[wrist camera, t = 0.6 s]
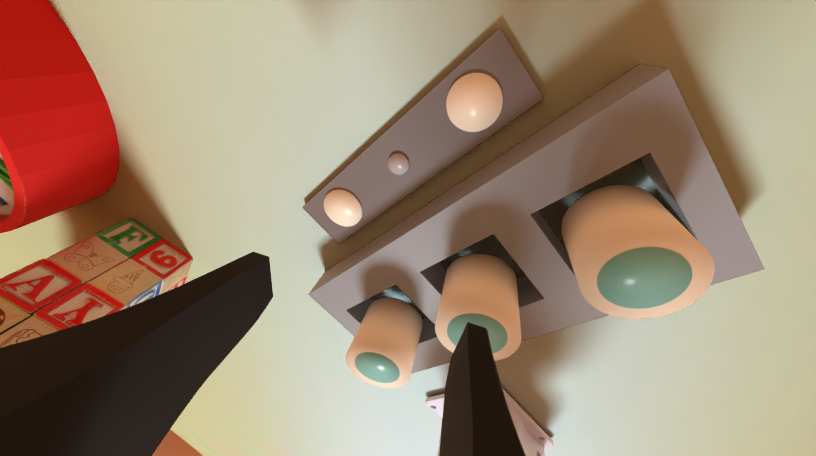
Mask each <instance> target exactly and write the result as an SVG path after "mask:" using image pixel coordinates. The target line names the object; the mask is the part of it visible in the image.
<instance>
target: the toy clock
mask: <svg viewBox="0 0 816 456" xmlns="http://www.w3.org/2000/svg"><path fill="white" fill-rule="evenodd" d="M118 168H119V145H118V140H117V134H116V129H115V125H114V122H113V119H112V116H111V112H110V109H109V106H108V103H107V100H106V98H105V96H104V94H103V92H102V89H101V87H100V85H99V83H98V81H97V78H96V76H95V74H94V72H93V70H92V68H91V67H90V65H89V63H88V61H87V60H86V58H85V56H84V54H83V53H82V51H81V49H80V47H79V45H78V44H77V42H76V40H75V39H74V37H73V36H72V34H71V33H70V31H69V30H68V28H67V27H66V25H65V24H64V23H63V21H62V20H61V18H60V17H59V15H58V14H57V12H56V11H55V9H54V8H53V6H52V5H51V4H50V3H49V1H48V0H0V233H3V232H7V231H12V230H14V229H17V228H19V227H22V226H25V225H27V224H30V223H32V222H35V221H37V220H40V219H43V218H45V217H48V216H50V215H53V214H55V213H58V212H60V211H63V210H66V209H68V208H71V207H73V206H76V205H78V204H81V203H84V202H86V201H89V200H91V199H94V198H96V197H99V196H101V195H102V194H104V193H105V192H106V191H108V190H109V189H110V187H111V186H112V184H113V183H114V181H115V180H116V176H117V172H118Z"/></svg>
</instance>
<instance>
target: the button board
mask: <svg viewBox="0 0 816 456" xmlns="http://www.w3.org/2000/svg"><path fill="white" fill-rule="evenodd" d="M638 158H640V159H641V161H642V163H643V165H644V166H645V168H646V170H647V172H648V174H649V175H650V177H651V179H652V181H653V182H654V184H655V186H656V188H657V190H658V191H659V193H660V195H661V197H662V199H663V200H664V202H665V204H666V206H667V208H668V209H669V211H670V213H671V214H672V215H673V216H674V217H675V218H676V219H677V220H678V221H679V222H680V223H681V224H682V225H683V226H684V227H685V228H686V229H687V230H688V231H689V232H690V233H691V234H692V235H693V236H694V237H695V238H696V239H697V240H698V241H699V242H700V243H701V244H702V245H703V246H704V247H705V248H706V249H707V250H708V252H709V253H710V255H711V256H712V259H713V261H714V267H715V270H714V276H713V280H712V282H711V284H710V285H713V284H716V283H720V282H723V281H726V280H730V279H733V278H737V277H740V276H743V275H747V274H750V273H753V272H757V271H760V270H764V267H763V265H762V263H761V260H760V258H759V256H758V254H757V252H756V250H755V248H754V246H753V244H752V242H751V240H750V237H749V235H748V233H747V231H746V229H745V227H744V225H743V223H742V221H741V219H740V217H739V214H738V212H737V210H736V208H735V206H734V204H733V202H732V200H731V198H730V196H729V194H728V191H727V189H726V187H725V185H724V183H723V181H722V179H721V177H720V175H719V173H718V170H717V168H716V166H715V164H714V162H713V160H712V158H711V156H710V154H709V152H708V150H707V147H706V145H705V143H704V141H703V139H702V137H701V135H700V133H699V131H698V129H697V127H696V124H695V122H694V120H693V118H692V116H691V114H690V112H689V110H688V108H687V106H686V104H685V101H684V99H683V97H682V95H681V93H680V91H679V89H678V87H677V85H676V83H675V81H674V78H673V76H672V74H671V72H670V70H669V69H667V68H661V67H655V66H649V65H644V64H639V65H638V66H636V67H635V68H633V69H632V70H630V71H629V72H627V73H626V74H624V75H623V76H621V77H620V78H618V79H616V80H615V81H613V82H612V83H610V84H609V85H607V86H606V87H604V88H603V89H601V90H600V91H598V92H597V93H595V94H594V95H592V96H591V97H589V98H588V99H586V100H585V101H583V102H582V103H580V104H579V105H577V106H576V107H574V108H573V109H571V110H570V111H568V112H567V113H565V114H563V115H562V116H560V117H559V118H557V119H556V120H554V121H553V122H551V123H550V124H548V125H547V126H545V127H544V128H542V129H541V130H539V131H538V132H536V133H535V134H533V135H532V136H530V137H529V138H527V139H526V140H524V141H523V142H521V143H520V144H518V145H517V146H515V147H514V148H512V149H510V150H509V151H507V152H506V153H504V154H503V155H501V156H500V157H498V158H497V159H495V160H494V161H492V162H491V163H489V164H488V165H486V166H485V167H483V168H482V169H480V170H479V171H477V172H476V173H474V174H473V175H471V176H470V177H468V178H467V179H465V180H464V181H462V182H461V183H459V184H457V185H456V186H454V187H453V188H451V189H450V190H448V191H447V192H445V193H444V194H442V195H441V196H439V197H438V198H436V199H435V200H433V201H432V202H430V203H429V204H427V205H426V206H424V207H423V208H421V209H420V210H418V211H417V212H415V213H414V214H412V215H411V216H409V217H408V218H406V219H404V220H403V221H401V222H400V223H398V224H397V225H395V226H394V227H392V228H391V229H389V230H388V231H386V232H385V233H383V234H382V235H380V236H379V237H377V238H376V239H374V240H373V241H371V242H370V243H368V244H367V245H365V246H364V247H362V248H361V249H359V250H358V251H356V252H355V253H353V254H351V255H350V256H348V257H347V258H345V259H344V260H342V261H341V262H339V263H338V264H336V265H335V266H333V267H332V268H330V269H329V270H327V271H326V272H325V273H324V274H323V275H322V277H321V278H320V279H319V281H318V282H317V283H316V285H315V286H314V288H313V289H312V290H311V292H310V293H309V295H310V296H311V297H312V298H313V299H314V300H315V301H316V302H317V303H318V304H320V305H321V306H322V307H323V308H324V309H325V310H326V311H327V312H328V313H329V314H331V315H332V316H333V317H334V318H335V319H336V320H337V321H338V322H339V323H340V324H342V325H343V326H344V327H345V328H346V329H347V330H348V331H349V332H350V333H351V334H353V335H354V336H355V335H356V333H357V331H358V329H359V327H360V324H361V322H362V320H363V318H364V316H365V314H366V312H367V310H368V308H369V306H370V304H371V303H372V302H373V301H374V300H372V299H371V297H373V296H374V295H376V294H378V293H380V292H382V291H384V290H386V289H388V288H390V287H392V286H394V285H397V286H398V287H399V288H400V289H401V290H402V291H403V293H404V294H405V295H406V296H407V297H408V298H409V299H410V300H411V301H412V302H413V303H414V304H415V305H416V306H417V307H418V308H419V309H420V310H421V311H422V312H423V313H424V314H425V315H426V316H427V317H424V318H422V320H423V327H422V331H421V335H420V339H419V343H418V347H417V351H416V355H415V358H414V362H413V366H412V370H411V373H415V372H418V371H421V370H425V369H428V368H432V367H435V366H438V365H442V364H445V363H448V362H450V360H451V357H452V354H453V353H452V352H451V351H449V350H448V349H447V348H446V347H444V346H443V345H442V343H441V342H440V341H439V339H438V337H437V335H436V332H435V323H436V318H437V314H438V309H439V304H440V300H441V295H442V290H443V286H444V281H445V276H446V272H447V269H446V268H445V267H444V266H443V265H442V264H441V262H440V261H442V260H444V259H446V258H448V257H450V256H452V255H453V254H455V253H457V252H459V251H461V250H463V249H465V248H467V247H469V246H471V245H473V244H475V243H477V242H479V241H480V240H482V239H484V238H486V237H488V236H490V235H492V234H494V235H495V237H496V238H497V239H498V240H499V242H500V243H501V244H502V246H503V247H504V248H505V249H506V251H507V252H508V253H509V254H510V256H511V257H512V258H513V259H514V261H515V262H516V263H517V264H518V266H519V267H520V268H521V270H522V271H523V272H524V273H525V275H526V276H524V277H521V278H519V279H517V291H518V303H519V315H520V327H521V341H523V340H526V339H530V338H533V337H537V336H540V335H543V334H547V333H550V332H554V331H557V330H560V329H564V328H567V327H570V326H574V325H577V324H581V323H584V322H587V321H591V320H594V319H598V318H601V317H604V316H608V315H609V314H606V313H603V312H601V311H599V310H597V309H596V308H594V307H593V306H592V305H590V304H589V303H588V302H587V301H586V300H585V298H584V297H583V295H582V294H581V291H580V288H579V285H578V282H577V279H576V276H575V273H574V270H573V267H572V264H571V261H570V258H569V255H568V252H567V249H566V248H565V247H564V245H563V244H562V242H561V241H560V240H559V238H558V237H557V235H556V234H555V233H554V231H553V230H552V228H551V227H550V226H549V224H548V223H547V221H546V220H545V219H544V217H543V216H542V214H541V213H540V212H539V210H540V209H542V208H544V207H546V206H548V205H550V204H552V203H554V202H556V201H558V200H559V199H561V198H563V197H565V196H567V195H569V194H571V193H573V192H575V191H577V190H579V189H581V188H583V187H585V186H586V185H588V184H590V183H592V182H594V181H596V180H598V179H600V178H602V177H604V176H606V175H608V174H610V173H611V172H613V171H615V170H617V169H619V168H621V167H623V166H625V165H627V164H629V163H631V162H633V161H635V160H637V159H638Z"/></svg>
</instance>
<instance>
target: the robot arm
mask: <svg viewBox="0 0 816 456" xmlns="http://www.w3.org/2000/svg"><path fill="white" fill-rule="evenodd" d="M272 297H273V292H272V282H271V272H270V262H269V257H268V256H265V255H261V254H258V253H255V252H252V253H250V254H248V255H245V256H243V257H241V258H239V259H237V260H235V261H233V262H230V263H228V264H226V265H224V266H222V267H220V268H218V269H216V270H214V271H212V272H209V273H207V274H205V275H203V276H201V277H199V278H196V279H194V280H192V281H190V282H188V283H186V284H183V285H181V286H179V287H176V288H174V289H172V290H169V291H167V292H165V293H162V294H160V295H158V296H155V297H153V298H150V299H148V300H146V301H143V302H141V303H138V304H136V305H133V306H131V307H128V308H125V309H123V310H120V311H117V312H114V313H112V314H109V315H106V316H103V317H100V318H97V319H95V320H92V321H89V322H86V323H82V324H79V325H76V326H73V327H70V328H66V329H63V330H60V331H57V332H53V333H50V334H47V335H44V336H41V337H37V338H34V339H30V340H27V341H23V342H20V343H16V344H12V345H9V346H5V347H1V348H0V456H152V454H153V453H154V452H155V450H156V449H157V447H158V446H159V444H160V443H161V441H162V440H163V438H164V437H165V436H166V434H167V433H168V431H169V430H170V428H171V427H172V425H173V424H174V423H175V421H176V420H177V418H178V417H179V415H180V414H181V413H182V411H183V410H184V409H185V407H186V406H187V404H188V403H189V402H190V400H191V399H192V398H193V396H194V395H195V393H196V392H197V391H198V389H199V388H200V387H201V386H202V384H203V383H204V382H205V381H206V379H207V378H208V377H209V376H210V375H211V374H212V372H213V371H214V370H215V369H216V368H217V367H218V365H219V364H220V363H221V362H222V361H223V360H224V359H225V357H226V356H227V355H228V354H229V353H230V352H231V351H232V349H233V348H234V347H235V346H236V345H237V344H238V342H239V341H240V340H241V339H242V338H243V337H244V335H245V334H246V333H247V332H248V331H249V330H250V328H251V327H252V326H253V325H254V324H255V322H256V321H257V320H258V318H259V317H260V315H261V314H262V313H263V311H264V310H265V308H266V307H267V305H268V304H269V302H270V300H271V299H272ZM425 404H426V405H427V406H428V407H429V408H431V409H432V410H433V411H434V412H435V413H436V414H437V415H438V416H439V417H440V418H442V428H441V435H440V442H439V449H438V456H545V455H544V448H545V447H552V446H553V440H552V439H551V438H550V437H549V436H548V435H547V434H546V433H545V432H544V431H543V430H542V429H541V428H540V427H539V426H538V425H537V424H536V422H535V421H534V420H533V419H532V418H531V417H530V416H529V415H528V414H527V413H526V412H525V411H524V410H523V409H522V408H521V407H520V406H519V405H518V404H517V403H516V402H515V401H514V400H513V399H512V398H511V397H510V396H509V394H508V393H507V392H506V391H505V390H504V389H503V388H502V386H501V383H500V379H499V376H498V372H497V368H496V365H495V361H494V357H493V353H492V349H491V344H490V340H489V335H488V331H487V329H486V328H484V327H481V326H478V325H475V324H472V323H469V322H467V324H466V327H465V329H464V331H463V333H462V335H461V337H460V339H459V342H458V344H457V346H456V348H455V350H454V352H453V354H452V357H451V360H450V366H449V371H448V376H447V381H446V387H445V394H441V395H436V396H432V397H428V398H426V401H425Z"/></svg>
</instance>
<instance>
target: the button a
mask: <svg viewBox="0 0 816 456" xmlns="http://www.w3.org/2000/svg"><path fill="white" fill-rule="evenodd" d="M422 327H423V320H422V317H421V315H420V314H419V312H418V311H417V310H416V309H415V308H414V307H413V306H411V305H410V304H408V303H407V302H405V301H402V300H400V299H396V298H389V297H386V298H380V299H377V300H375V301H373V302H372V303H371V304H370V306H369V308H368V310H367V312H366V314H365V316H364V318H363V320H362V322H361V324H360V327H359V329H358V331H357V333H356V335H355V337H354V339H353V341H352V343H351V345H350V347H349V350H348V352H347V354H346V363H347V365H348V367H349V368H350V370H351V371H352V372H353V373H354V374H355V375H356V376H358V377H359V378H360V379H362V380H364V381H365V382H367V383H369V384H372V385H375V386H378V387H383V388H398V387H401V386H403V385H405V384H406V383H407V382H408V380H409V378H410V374H411V370H412V366H413V362H414V358H415V355H416V351H417V347H418V343H419V339H420V335H421V331H422Z"/></svg>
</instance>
